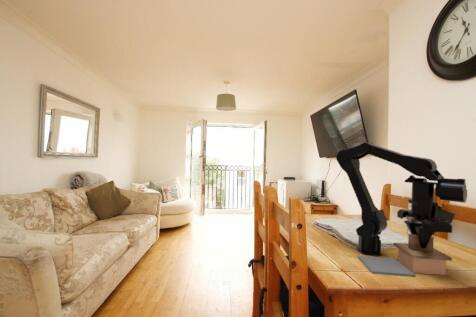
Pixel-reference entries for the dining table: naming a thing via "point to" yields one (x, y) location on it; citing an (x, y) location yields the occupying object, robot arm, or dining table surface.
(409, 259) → the pink open tray
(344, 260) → the dining table surface
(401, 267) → the rubber mat
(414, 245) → the walnut lid
